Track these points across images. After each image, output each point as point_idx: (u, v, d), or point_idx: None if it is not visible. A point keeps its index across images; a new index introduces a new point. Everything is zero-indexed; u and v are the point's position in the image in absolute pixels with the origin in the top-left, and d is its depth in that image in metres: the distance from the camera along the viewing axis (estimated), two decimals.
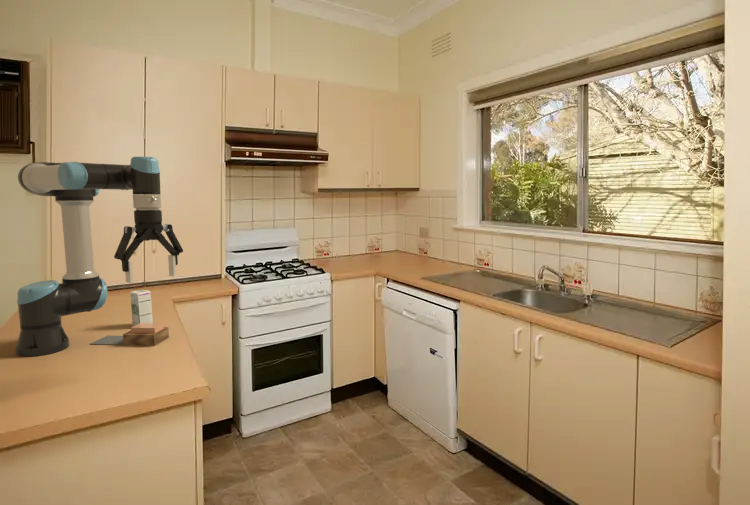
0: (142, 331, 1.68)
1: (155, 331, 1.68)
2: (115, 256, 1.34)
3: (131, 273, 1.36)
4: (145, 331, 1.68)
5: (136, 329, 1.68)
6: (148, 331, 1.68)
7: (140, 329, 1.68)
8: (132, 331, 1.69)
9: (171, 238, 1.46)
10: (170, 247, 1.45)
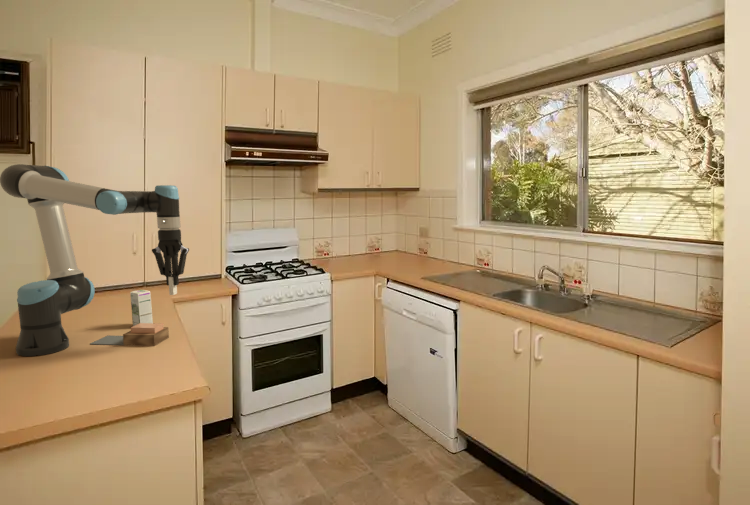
0: (142, 331, 1.68)
1: (155, 331, 1.68)
2: None
3: (170, 287, 1.67)
4: (145, 331, 1.68)
5: (136, 329, 1.68)
6: (148, 331, 1.68)
7: (140, 329, 1.68)
8: (132, 331, 1.69)
9: None
10: (172, 267, 1.66)
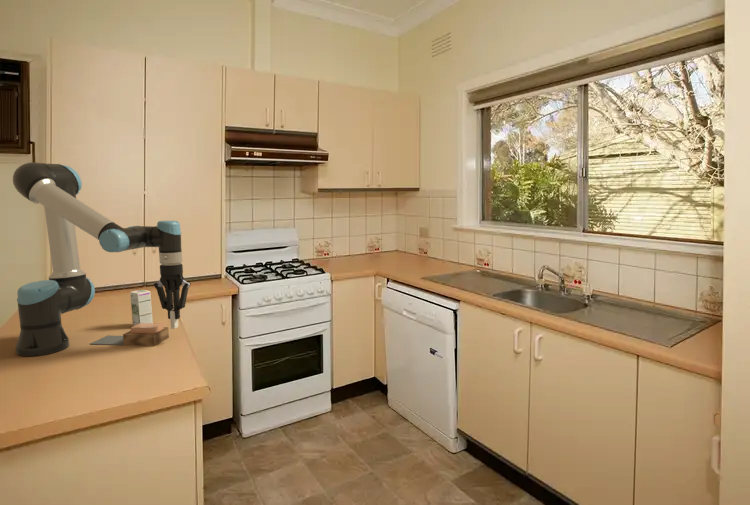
0: (142, 331, 1.68)
1: (155, 331, 1.68)
2: None
3: (171, 321, 1.69)
4: (145, 331, 1.68)
5: (136, 329, 1.68)
6: (148, 331, 1.68)
7: (140, 329, 1.68)
8: (132, 331, 1.69)
9: None
10: (174, 301, 1.68)
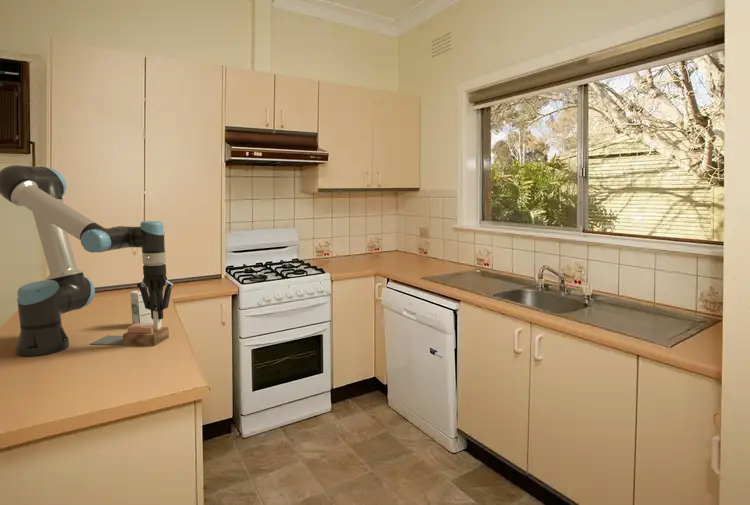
0: (139, 331, 1.68)
1: (152, 331, 1.69)
2: None
3: (154, 321, 1.69)
4: (142, 331, 1.68)
5: (133, 329, 1.68)
6: (145, 331, 1.68)
7: (137, 329, 1.68)
8: (129, 331, 1.69)
9: None
10: (157, 302, 1.68)
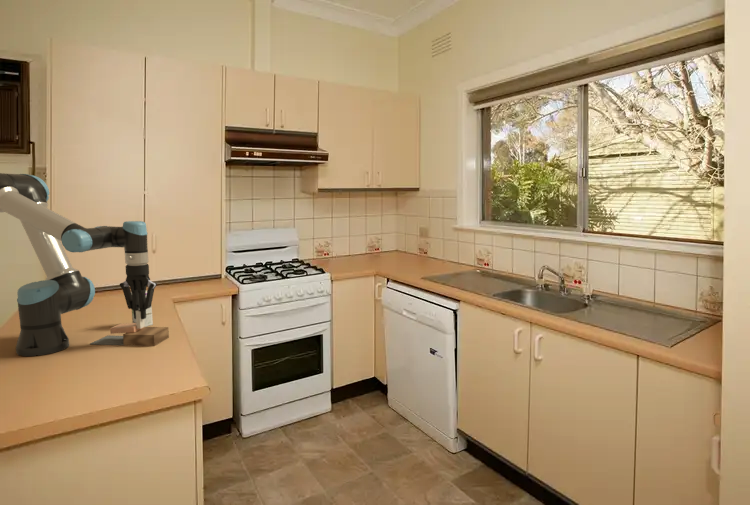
0: (121, 331, 1.69)
1: (134, 330, 1.69)
2: None
3: (137, 321, 1.70)
4: (124, 331, 1.69)
5: (115, 329, 1.69)
6: (127, 330, 1.69)
7: (119, 329, 1.69)
8: (112, 332, 1.69)
9: None
10: (139, 301, 1.69)
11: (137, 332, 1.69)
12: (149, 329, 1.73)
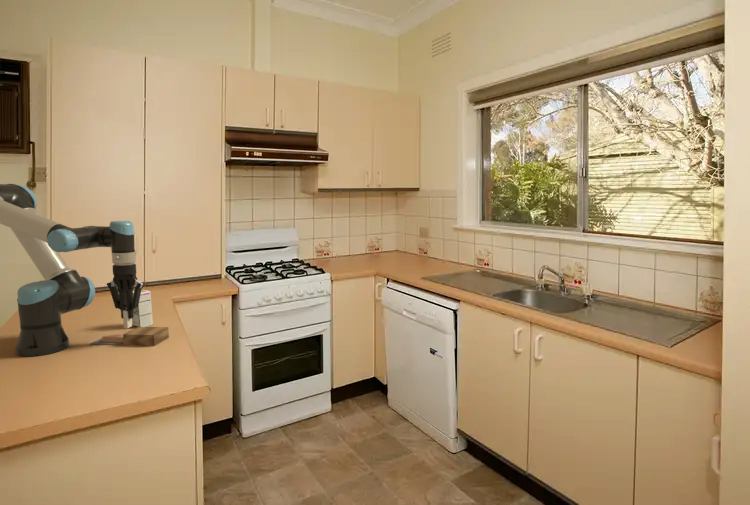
0: (113, 340, 1.70)
1: None
2: None
3: (124, 320, 1.70)
4: (116, 340, 1.69)
5: (107, 338, 1.70)
6: (119, 340, 1.69)
7: (111, 338, 1.70)
8: (103, 340, 1.70)
9: None
10: (127, 301, 1.69)
11: (137, 332, 1.69)
12: (149, 329, 1.73)
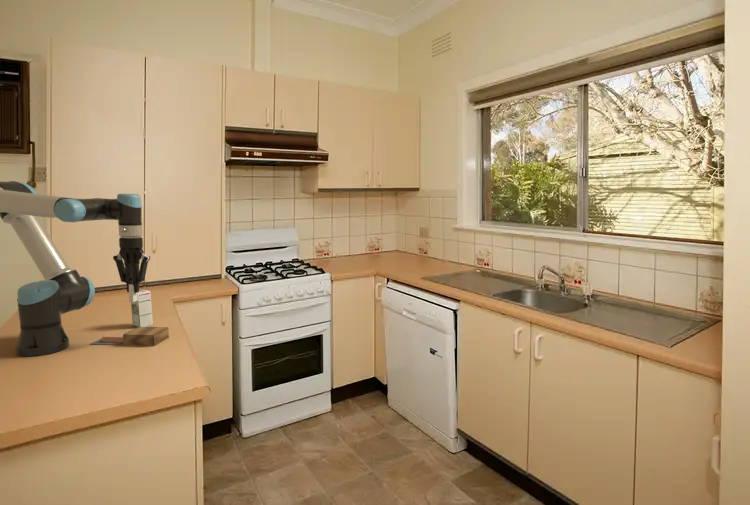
0: (113, 340, 1.70)
1: None
2: None
3: (130, 294, 1.69)
4: (116, 340, 1.69)
5: (107, 338, 1.70)
6: (119, 340, 1.69)
7: (111, 338, 1.70)
8: (103, 340, 1.70)
9: None
10: (133, 275, 1.68)
11: (137, 332, 1.69)
12: (149, 329, 1.73)
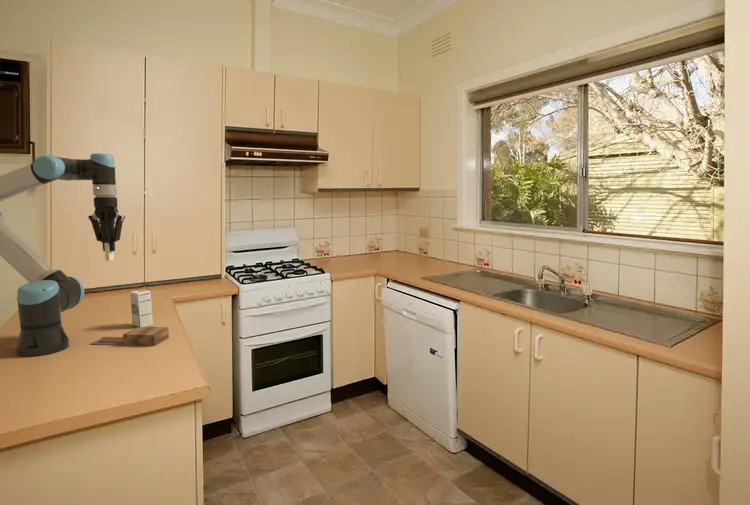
0: (113, 340, 1.70)
1: None
2: None
3: (106, 253, 1.73)
4: (116, 340, 1.69)
5: (107, 338, 1.70)
6: (119, 340, 1.69)
7: (111, 338, 1.70)
8: (103, 340, 1.70)
9: None
10: (108, 233, 1.72)
11: (137, 332, 1.69)
12: (149, 329, 1.73)
